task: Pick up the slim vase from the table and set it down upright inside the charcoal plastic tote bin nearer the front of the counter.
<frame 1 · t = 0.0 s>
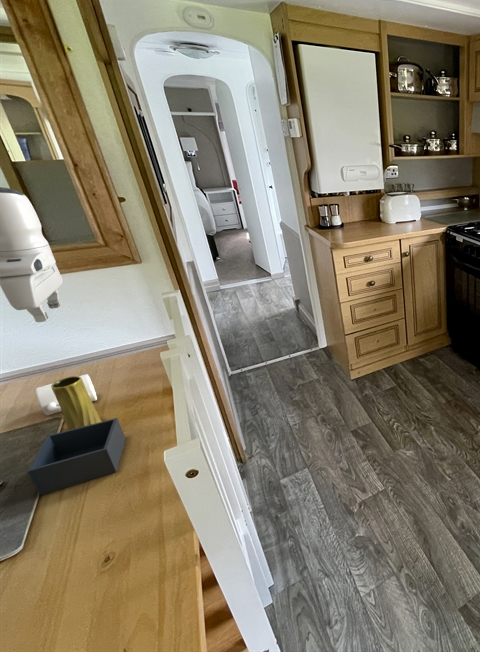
hand: (49, 313, 92), 30 cm above the table, tool pointing down, fingers open, 8 cm apart
bin: (86, 464, 86), on the table
mug: (73, 409, 104), on the table
vase: (86, 429, 97), on the table
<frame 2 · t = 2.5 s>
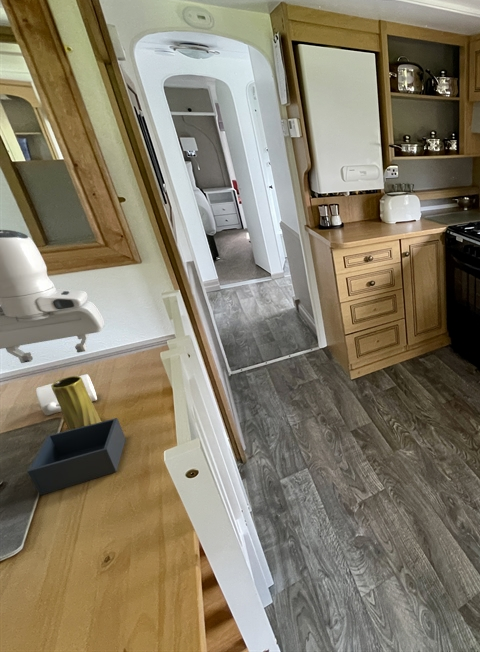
hand: (55, 356, 89), 21 cm above the table, tool pointing down, fingers open, 8 cm apart
nothing on the table moved.
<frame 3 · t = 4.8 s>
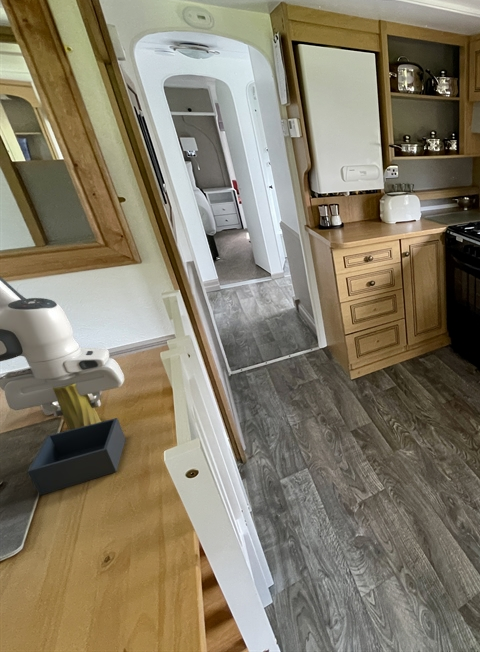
hand: (79, 410, 95), 6 cm above the table, tool pointing down, fingers closed on vase, 5 cm apart
vase: (86, 429, 97), on the table, touching gripper
everything else where it was.
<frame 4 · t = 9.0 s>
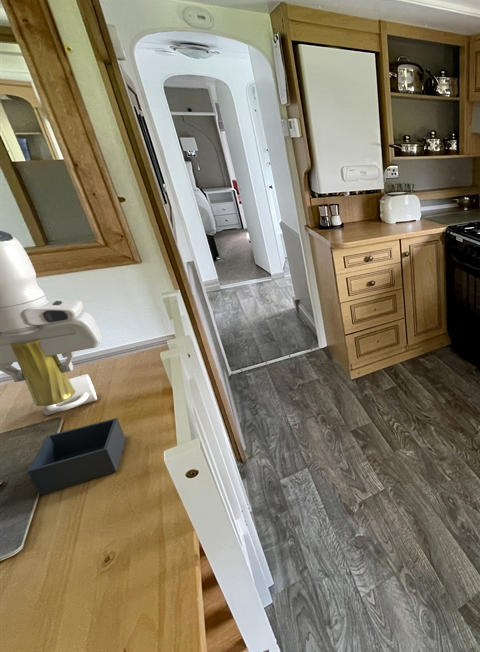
hand: (45, 375, 78), 24 cm above the table, tool pointing down, fingers closed on vase, 5 cm apart
vase: (56, 398, 80), point 18 cm above the table, touching gripper
everything else where it was.
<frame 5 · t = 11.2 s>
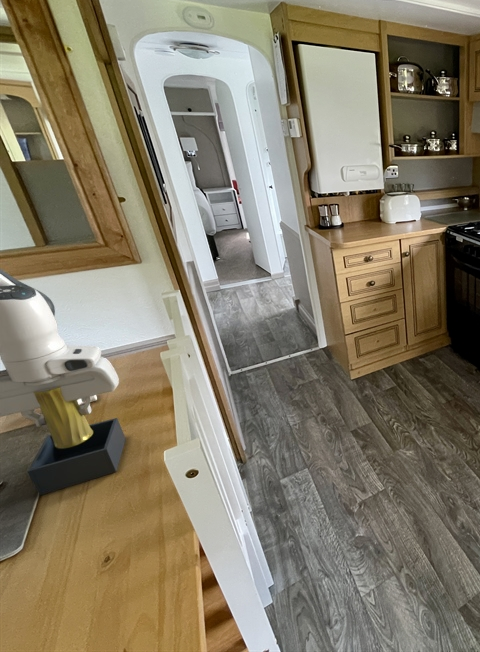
hand: (65, 418, 81), 13 cm above the table, tool pointing down, fingers closed on vase, 5 cm apart
vase: (75, 439, 84), point 7 cm above the table, touching gripper
everything else where it was.
when the fingers open (6 cm above the table, at t = 13.3 s): vase stays where it is, resting on bin.
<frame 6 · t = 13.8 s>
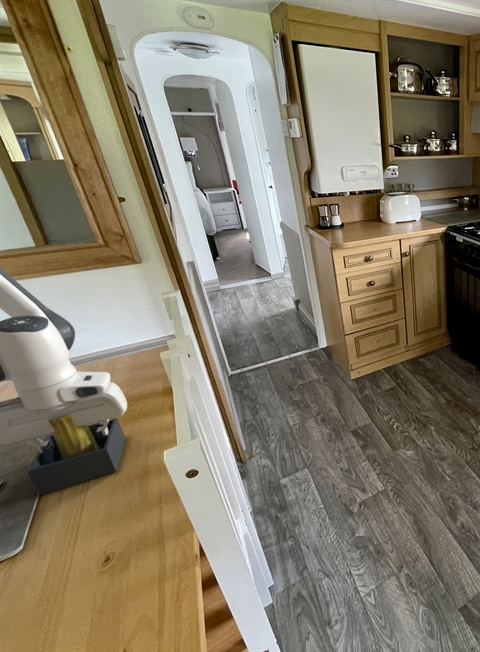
hand: (75, 442, 84), 7 cm above the table, tool pointing down, fingers open, 8 cm apart
vase: (85, 463, 86), resting on bin
everything else where it was.
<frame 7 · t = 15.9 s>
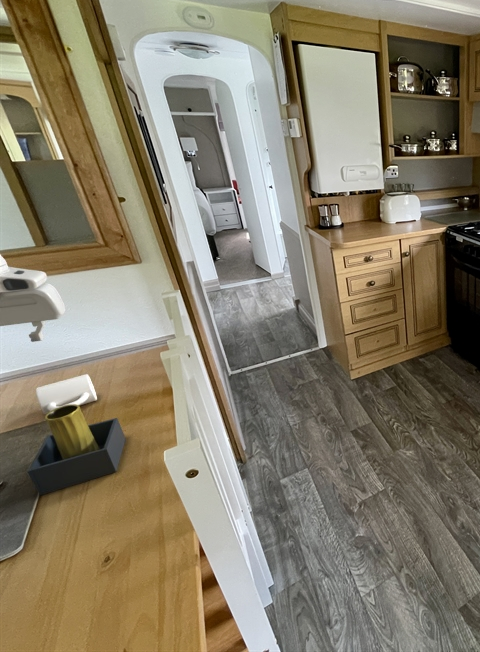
hand: (5, 344, 78), 30 cm above the table, tool pointing down, fingers open, 8 cm apart
nothing on the table moved.
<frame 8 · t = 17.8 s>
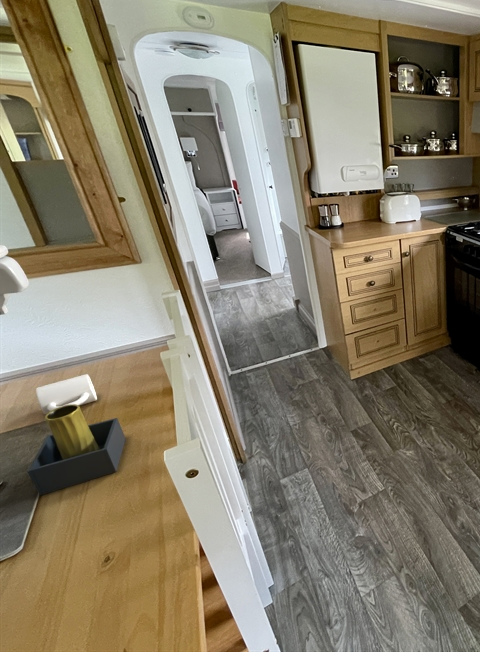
nothing on the table moved.
at the end: vase inside the target area in the bin (0.1 cm from its centre), point 0.4 cm above the bin's base; vase tilted 0°; the gripper is holding nothing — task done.
